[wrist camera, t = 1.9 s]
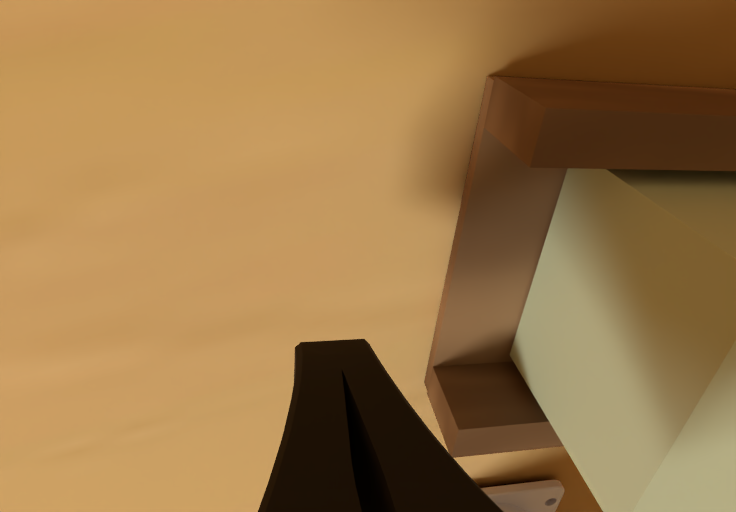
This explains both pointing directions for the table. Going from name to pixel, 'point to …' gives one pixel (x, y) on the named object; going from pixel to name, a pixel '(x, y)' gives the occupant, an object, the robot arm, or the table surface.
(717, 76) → the table surface
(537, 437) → the chute
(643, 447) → the block
